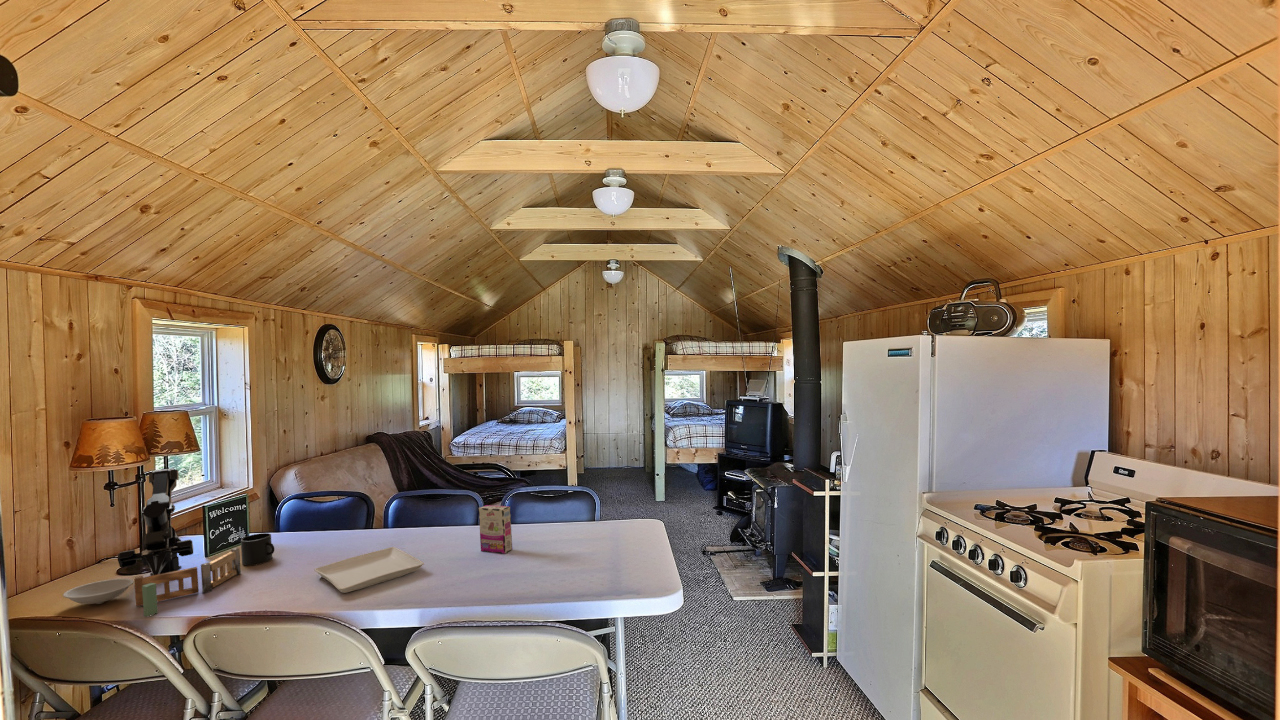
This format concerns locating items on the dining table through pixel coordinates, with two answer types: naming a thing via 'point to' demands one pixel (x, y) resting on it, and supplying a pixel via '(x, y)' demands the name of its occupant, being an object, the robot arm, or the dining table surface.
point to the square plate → (369, 569)
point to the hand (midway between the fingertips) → (155, 576)
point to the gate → (166, 579)
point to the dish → (98, 591)
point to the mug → (256, 549)
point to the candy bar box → (495, 529)
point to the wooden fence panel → (232, 569)
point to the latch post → (149, 599)
